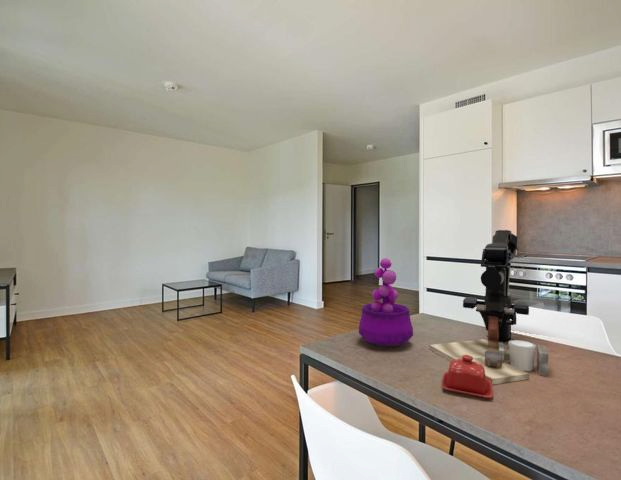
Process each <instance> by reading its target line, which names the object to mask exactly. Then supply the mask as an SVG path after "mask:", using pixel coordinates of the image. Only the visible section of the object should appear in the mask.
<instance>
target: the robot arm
mask: <svg viewBox="0 0 621 480" xmlns="http://www.w3.org/2000/svg"><path fill="white" fill-rule="evenodd" d="M491 241H492V242H491V243H488V244H486V246H484V248H482V253H481V260H480V267H481V268H485V271H483V272H482V274H481V275H480V282H481V284H482V285H483V286H484V287H485V292H484V293H485V295H484V300H478V297H472V296H466V297H465V298H463V301H462V308H464V309H472V310H473V309H475V308H476V309H475V312H478V313H479V314H480V315H481V318H482V320H483V324H484V327H485V330H486V331H487V332H488V317H489V316H493V317H498V318H499V340H498V342H501V343H507V342H509V341H510V340H516V339H515V338H512V326H514V325H517V314H518V315H525V316H529V315H530V306H529V304H528V303H527V302H521V301H513V303H512V301H511V296H510V295H509V291H510V290H509V289H510V277H511V275H510V274H511V266H512V265H511V264H512V261H513V259H514V258H515V257H516V255H517V251H519V247H520V246H519V237H518V236H517V235H515V234H514V233H512V230H508V229H498V230H496V231H495V232H494V235H493V236H492V240H491ZM486 337H487V338H488V335H486Z"/></svg>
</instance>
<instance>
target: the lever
mask: <svg viewBox="0 0 621 480" xmlns="http://www.w3.org/2000/svg"><path fill="white" fill-rule="evenodd" d="M487 336H488V337H487V340H488V351H485V364H487V365H488V366H492V367H501V366H502V361H503V362H505V359H504V347H505V346H504V342H498V340H499V318H498V317H493V316H489V317H488V331H487Z"/></svg>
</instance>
